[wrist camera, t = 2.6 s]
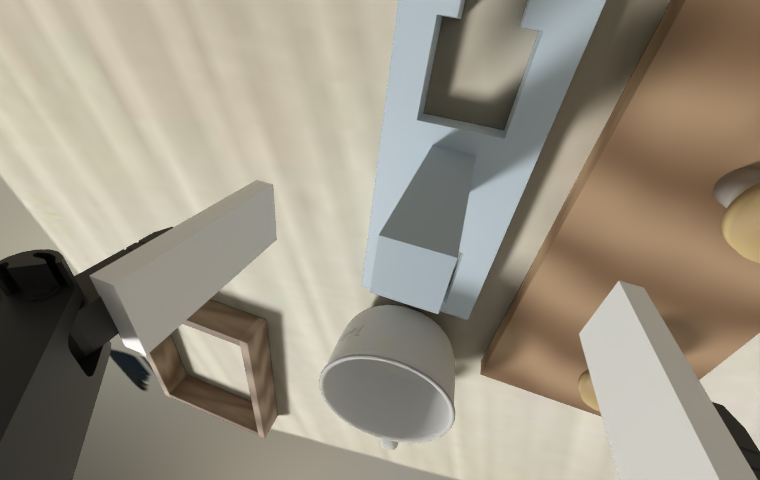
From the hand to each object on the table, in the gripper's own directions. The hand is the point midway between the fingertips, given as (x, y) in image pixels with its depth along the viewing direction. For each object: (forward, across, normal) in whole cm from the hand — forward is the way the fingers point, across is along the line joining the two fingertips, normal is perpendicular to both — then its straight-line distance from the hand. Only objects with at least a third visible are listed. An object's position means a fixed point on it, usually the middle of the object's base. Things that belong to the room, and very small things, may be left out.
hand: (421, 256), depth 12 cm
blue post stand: (+11, 0, +2) cm, 11 cm away
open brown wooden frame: (+11, -25, -34) cm, 44 cm away
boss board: (+11, +14, -4) cm, 18 cm away
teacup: (+11, 0, -18) cm, 22 cm away
